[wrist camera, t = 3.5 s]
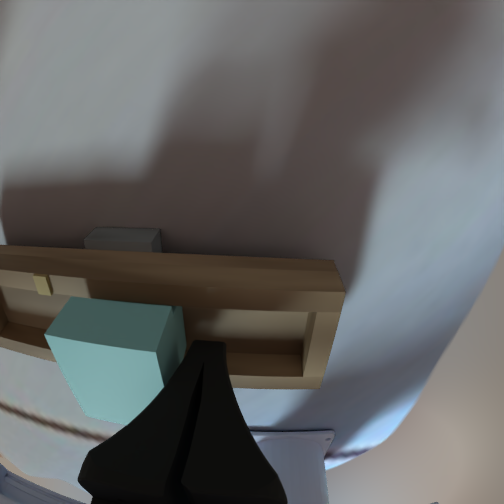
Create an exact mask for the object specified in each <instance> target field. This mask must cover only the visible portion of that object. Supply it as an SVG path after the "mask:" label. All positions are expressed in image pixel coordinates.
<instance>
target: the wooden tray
mask: <svg viewBox="0 0 504 504" xmlns="http://www.w3.org/2000/svg"><path fill="white" fill-rule="evenodd" d="M83 241H84V246H85V249H72V248H52V247H32V246H13V245H0V347H3V348H6V349H9V350H13V351H16V352H19V353H23V354H26V355H30V356H34V357H37V358H41V359H45V360H49V361H53V362H57V361H56V359H55V357H54V355H53V353H52V351H51V348H50V346H49V344H48V342H47V340H46V337H45V335H44V334H45V332H46V331H47V329H48V328H49V327H50V325H51V324H52V322H53V321H54V319H55V318H56V317H57V315H58V314H59V312H60V311H61V310H62V308H63V307H64V305H65V304H66V303H67V301H68V300H69V299H70V297H71V296H73V297H81V298H90V299H93V298H95V299H104V300H114V301H124V302H135V303H146V304H158V305H170V306H182V311H183V320H184V328H185V336H186V344H187V346H186V350H185V354H184V357H185V355H186V354H187V352H188V350H189V348H190V346H191V344H192V342H193V341H194V340H206V341H220V342H225V343H226V358H227V368H228V373H229V377H230V381H231V385H232V388H251V389H320V386H321V383H322V380H323V376H324V373H325V370H326V366H327V363H328V359H329V356H330V352H331V348H332V345H333V341H334V337H335V334H336V330H337V326H338V322H339V318H340V314H341V310H342V306H343V302H344V298H345V293H346V291H345V289H344V286H343V283H342V281H341V278H340V276H339V273H338V270H337V268H336V265H335V263H334V260H316V259H292V258H268V257H245V256H222V255H199V254H177V253H162V246H161V235H160V229H147V228H107V227H96V228H95V229H94V230H93V231H92V232H91V233H90V234H89V235H88V236H87V237H86V238H85V239H84V240H83ZM183 359H184V358H183Z"/></svg>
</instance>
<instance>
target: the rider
mask: <svg viewBox="0 0 504 504" xmlns="http://www.w3.org/2000/svg"><path fill="white" fill-rule="evenodd" d="M44 335H45V337H46V340H47V342H48V344H49V346H50V348H51V351H52V353H53V355H54V357H55V359H56V361H57V363H58V365H59V367H60V369H61V371H62V373H63V375H64V377H65V379H66V381H67V383H68V385H69V387H70V388H71V390H72V392H73V394H74V396H75V397H76V399H77V401H78V403H79V404H80V406H81V408H82V410H83V411H84V413H85V415H86V416H88V417H92V418H96V419H100V420H105V421H109V422H113V423H118V424H123V425H127V424H129V423H130V422H131V421H132V420H133V419H134V418H135V417H136V416H137V415H139V414H140V413H141V412H142V411H143V410H144V409H145V408H146V407H147V406H148V405H149V404H150V403H151V401H152V400H153V399H154V398H155V397H156V396H157V395H158V393H159V392H160V391H161V390H162V388H163V387H164V386H165V385H166V383H167V382H168V381H169V380H170V378H171V377H172V375H173V374H174V372H175V371H176V369H177V368H178V367H179V365H180V364H181V362H182V360H183V358H184V354H185V350H186V346H187V344H186V336H185V328H184V320H183V311H182V306H170V305H158V304H146V303H135V302H124V301H114V300H104V299H95V298H93V299H90V298H81V297H73V296H71V297H70V299H69V300H68V301H67V303H66V304H65V305H64V307H63V308H62V310H61V311H60V312H59V314H58V315H57V317H56V318H55V319H54V321H53V322H52V324H51V325H50V327H49V328H48V329H47V331H46V332H45V334H44Z"/></svg>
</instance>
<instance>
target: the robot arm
mask: <svg viewBox="0 0 504 504" xmlns="http://www.w3.org/2000/svg"><path fill="white" fill-rule="evenodd" d="M334 437H335V432H334V431H331V430H329V431H308V432H251V431H250V430H249V428H248V426H247V424H246V422H245V420H244V418H243V415H242V413H241V411H240V408H239V406H238V403H237V400H236V397H235V394H234V391H233V388H232V385H231V381H230V377H229V373H228V368H227V358H226V343H225V342H220V341H206V340H194V341H193V342H192V344H191V346H190V348H189V350H188V352H187V354H186V355H185V357H184V359H183V360H182V362H181V364H180V365H179V367H178V368H177V369H176V371H175V372H174V374H173V375H172V377H171V378H170V380H169V381H168V382H167V383H166V385H165V386H164V387H163V388H162V390H161V391H160V392H159V393H158V395H157V396H156V397H155V398H154V399H153V400H152V401H151V403H150V404H149V405H148V406H147V407H146V408H145V409H144V410H143V411H142V412H141V413H140V414H139V415H137V416H136V417H135V418H134V419H133V420H132V421H131V422H130V423H129V424H127V425H126V426H125V427H124V428H122V429H121V430H120V431H118V432H117V433H116V434H114V435H113V436H112V437H110V438H109V439H107V440H106V441H104V442H103V443H101V444H99V445H98V446H96V447H95V448H93V449H91V450H90V451H89V452H88V454H87V456H86V458H85V460H84V462H83V464H82V467H81V470H80V473H79V476H78V482H79V484H80V485H81V486H82V487H83V488H84V489H85V490H86V491H88V492H89V493H90V494H91V495H92V496H93V498H92V501H91V504H329V500H328V489H327V481H326V472H325V463H324V456H325V454H326V452H327V450H328V448H329V447H330V445H331V443H332V441H333V439H334ZM0 504H85V503H82V502H80V501H77V500H74V499H71V498H68V497H66V496H63V495H60V494H58V493H56V492H53V491H51V490H48V489H46V488H44V487H41V486H39V485H37V484H35V483H32V482H30V481H28V480H26V479H24V478H22V477H20V476H18V475H16V474H14V473H12V472H10V471H8V470H7V469H6V468H5V467H4V466H3V465H1V463H0ZM431 504H439V503H438V502H434V503H431Z"/></svg>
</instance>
